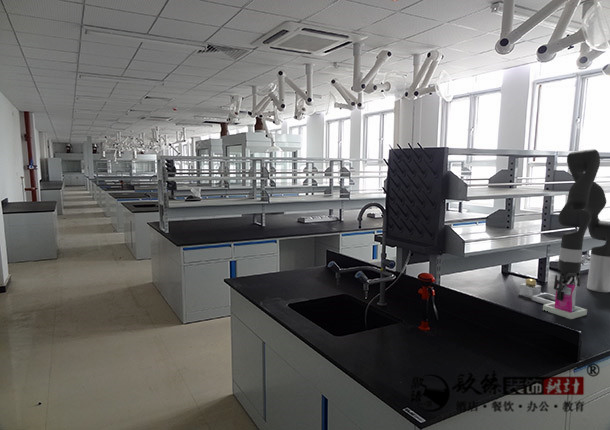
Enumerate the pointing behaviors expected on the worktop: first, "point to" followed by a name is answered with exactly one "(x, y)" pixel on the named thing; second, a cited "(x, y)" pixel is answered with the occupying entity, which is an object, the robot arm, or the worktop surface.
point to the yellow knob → (531, 282)
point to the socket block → (535, 293)
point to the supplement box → (567, 299)
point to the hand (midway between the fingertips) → (565, 298)
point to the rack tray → (572, 315)
